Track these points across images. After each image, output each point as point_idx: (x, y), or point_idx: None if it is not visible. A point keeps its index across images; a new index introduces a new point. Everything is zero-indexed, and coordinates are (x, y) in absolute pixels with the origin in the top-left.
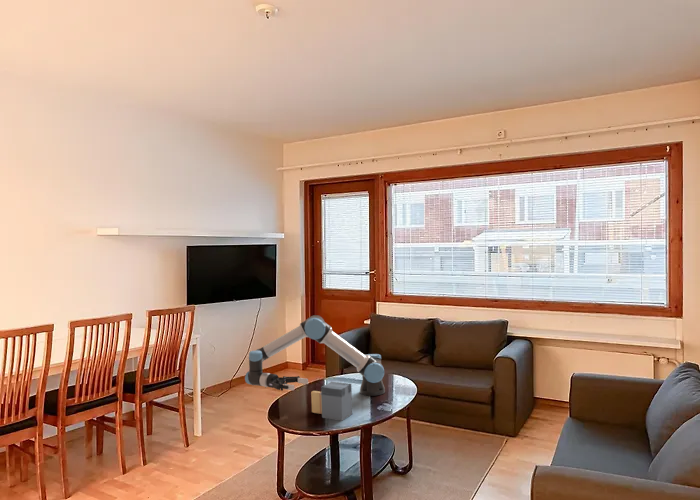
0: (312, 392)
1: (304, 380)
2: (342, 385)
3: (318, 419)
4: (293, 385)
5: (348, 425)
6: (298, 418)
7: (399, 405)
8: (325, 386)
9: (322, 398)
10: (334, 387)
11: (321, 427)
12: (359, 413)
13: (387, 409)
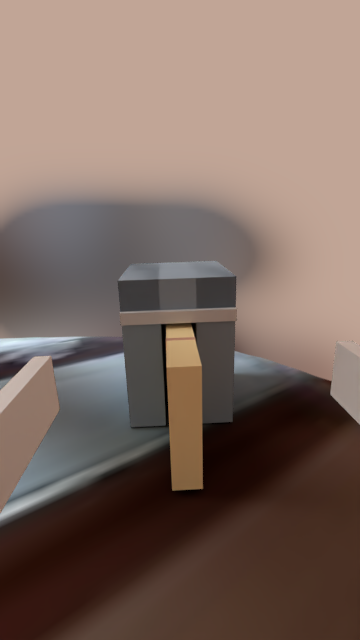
0: (200, 363)
1: (36, 397)
2: (164, 265)
3: (256, 426)
4: (351, 341)
5: (235, 355)
6: (331, 511)
7: (27, 340)
8: (214, 274)
9: (233, 333)
10: (206, 267)
11: (310, 387)
12: (122, 369)
13: (67, 345)
